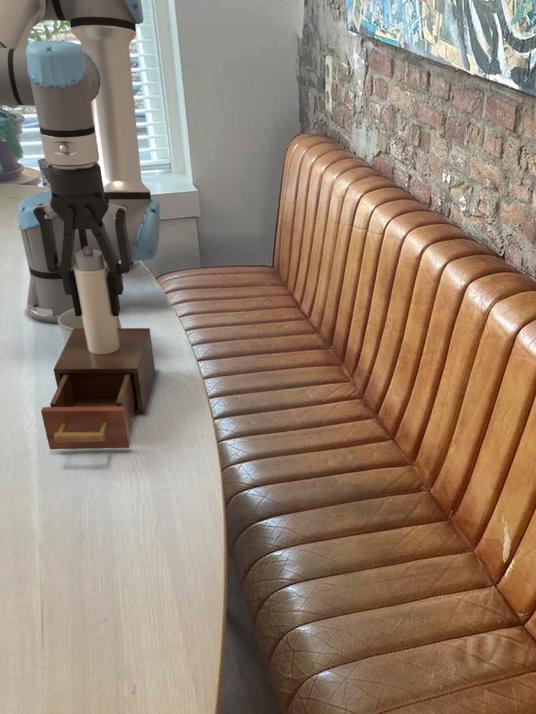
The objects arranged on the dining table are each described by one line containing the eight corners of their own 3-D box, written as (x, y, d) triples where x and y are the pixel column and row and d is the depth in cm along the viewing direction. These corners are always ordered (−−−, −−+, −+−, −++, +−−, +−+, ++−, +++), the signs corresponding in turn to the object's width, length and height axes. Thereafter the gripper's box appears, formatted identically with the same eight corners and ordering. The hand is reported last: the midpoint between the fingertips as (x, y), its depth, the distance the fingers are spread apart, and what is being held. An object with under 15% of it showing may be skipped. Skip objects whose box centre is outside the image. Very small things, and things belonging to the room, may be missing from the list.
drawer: (125, 463, 116) (118, 425, 112) (42, 465, 115) (33, 426, 111) (141, 401, 131) (136, 365, 127) (69, 402, 130) (62, 366, 126)
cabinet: (144, 414, 129) (137, 368, 124) (63, 415, 128) (53, 369, 123) (155, 371, 142) (149, 327, 137) (81, 371, 141) (73, 328, 136)
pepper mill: (91, 340, 132) (73, 240, 122) (122, 340, 132) (107, 241, 122) (85, 354, 128) (66, 251, 118) (117, 354, 128) (101, 252, 118)
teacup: (108, 370, 141) (102, 330, 137) (54, 363, 143) (45, 322, 138) (141, 339, 153) (136, 300, 148) (90, 332, 154) (83, 294, 149)
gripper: (1, 168, 109) (34, 322, 122) (133, 171, 111) (152, 322, 124) (15, 156, 115) (46, 303, 128) (140, 158, 117) (157, 304, 130)
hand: (98, 312), depth 126 cm, fingers closed on pepper mill, 5 cm apart
